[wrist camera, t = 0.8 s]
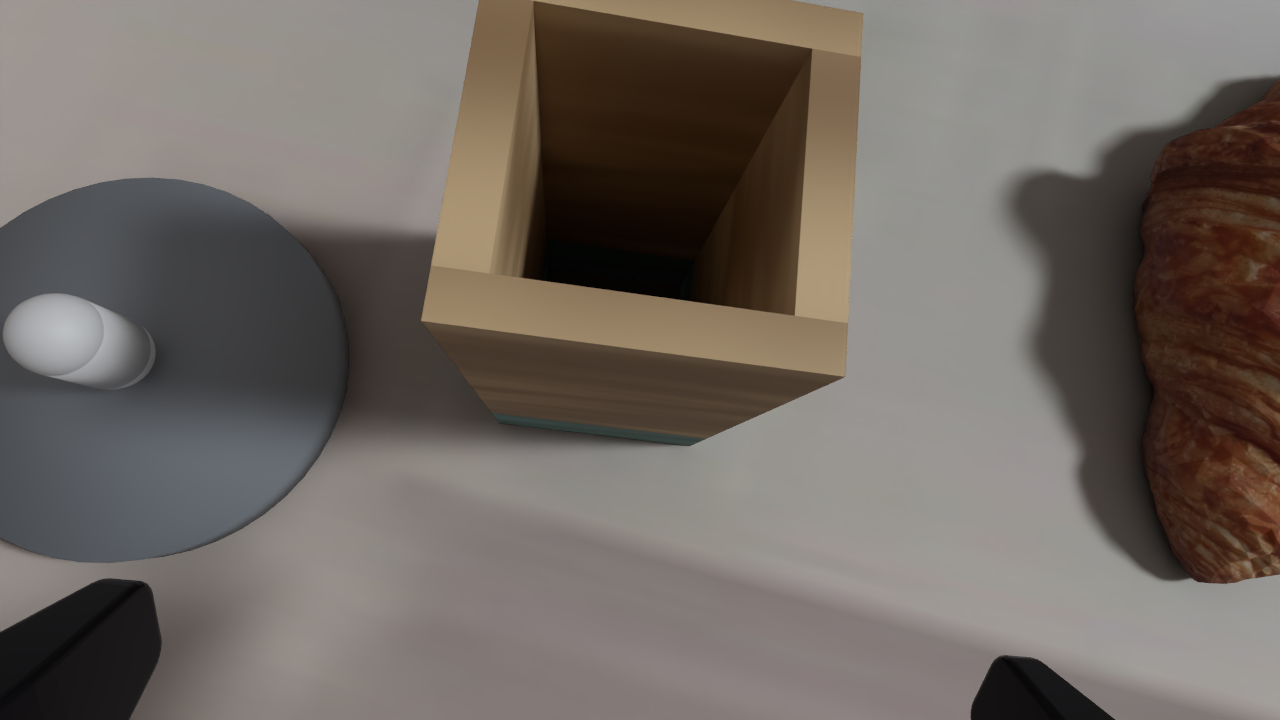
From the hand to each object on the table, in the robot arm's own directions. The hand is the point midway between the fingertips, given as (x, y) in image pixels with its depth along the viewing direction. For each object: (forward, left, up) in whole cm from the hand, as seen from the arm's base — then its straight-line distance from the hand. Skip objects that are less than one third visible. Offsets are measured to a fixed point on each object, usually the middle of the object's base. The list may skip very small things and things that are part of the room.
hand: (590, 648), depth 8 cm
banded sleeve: (+6, +4, -14) cm, 16 cm away
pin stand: (-4, +13, -14) cm, 20 cm away
